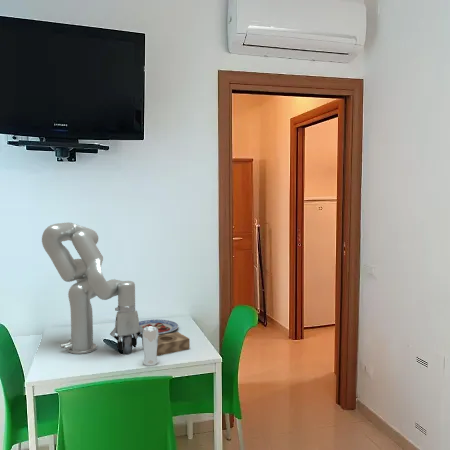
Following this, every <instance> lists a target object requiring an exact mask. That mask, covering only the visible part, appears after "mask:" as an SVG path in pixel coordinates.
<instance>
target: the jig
mask: <svg viewBox="0 0 450 450" xmlns="http://www.w3.org/2000/svg"><path fill="white" fill-rule="evenodd" d="M158 336H159V341H158V348H157V357H159V356H163V355H169V354H172V353H173V354H174V353H178V352H183V351H188V350H190V345H191V343H190V341H191V340H190V337H187V336H186V335H184V334H183V333H180V332H179V331H176V332H174V331H173V332H168V333H164V334H159V335H158Z"/></svg>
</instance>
